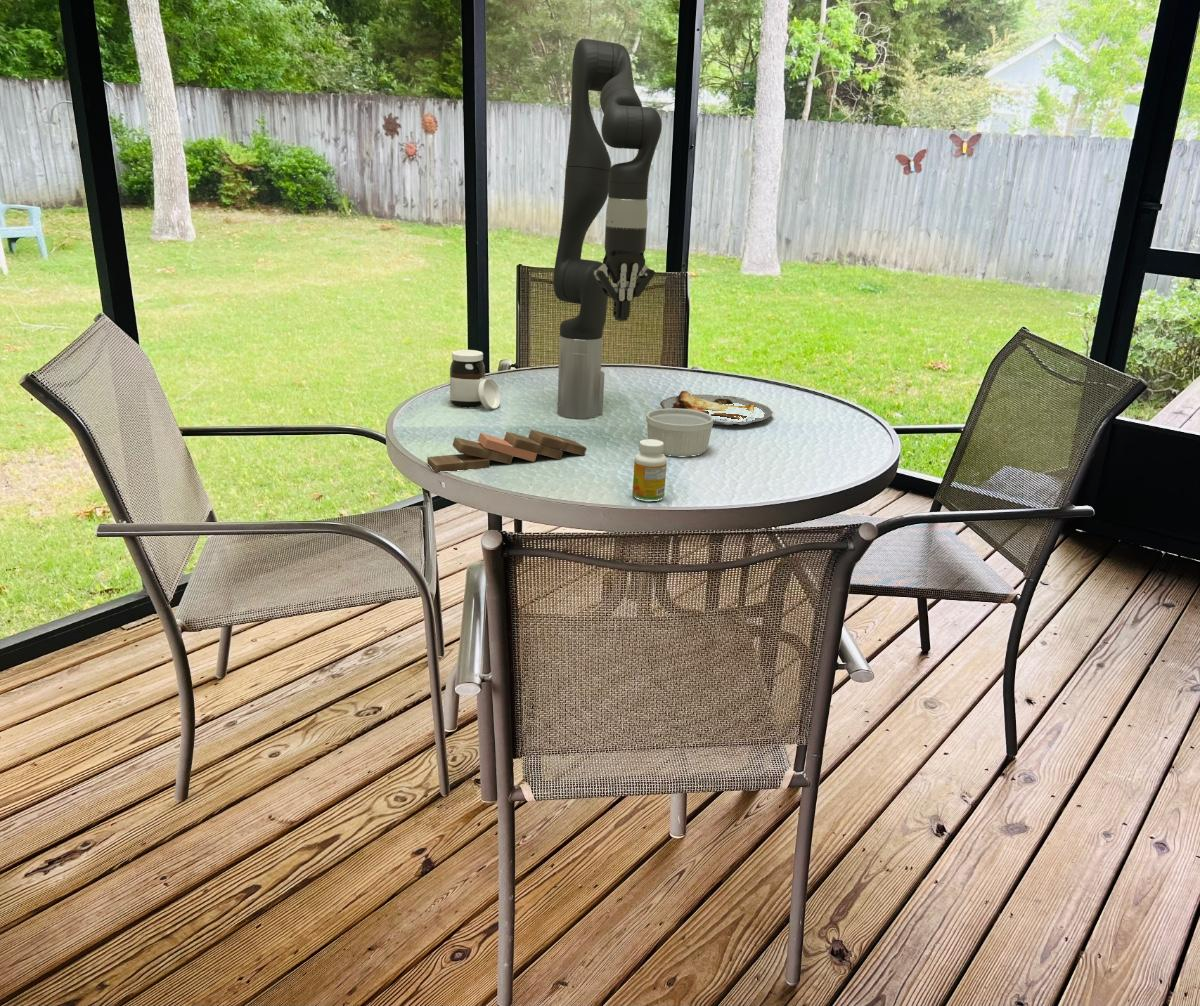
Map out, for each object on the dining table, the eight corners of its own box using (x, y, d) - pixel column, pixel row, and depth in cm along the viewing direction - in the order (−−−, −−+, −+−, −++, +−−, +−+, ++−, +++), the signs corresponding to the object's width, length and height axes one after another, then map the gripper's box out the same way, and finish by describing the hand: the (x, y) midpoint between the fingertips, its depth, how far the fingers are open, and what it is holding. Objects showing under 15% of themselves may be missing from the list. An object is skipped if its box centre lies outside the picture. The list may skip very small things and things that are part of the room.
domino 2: (505, 448, 178) (454, 437, 173) (513, 455, 173) (461, 444, 169) (502, 456, 178) (452, 445, 174) (510, 464, 174) (459, 452, 169)
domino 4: (552, 444, 182) (506, 431, 177) (563, 451, 178) (516, 438, 173) (549, 452, 182) (503, 439, 177) (560, 459, 178) (513, 447, 173)
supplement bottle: (630, 491, 163) (633, 437, 160) (661, 492, 163) (665, 438, 160) (634, 502, 158) (637, 446, 154) (666, 503, 158) (670, 447, 155)
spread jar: (452, 398, 218) (452, 347, 214) (502, 399, 219) (502, 349, 215) (447, 411, 207) (446, 358, 203) (499, 413, 208) (499, 360, 204)
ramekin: (633, 443, 191) (635, 409, 189) (691, 438, 196) (693, 405, 194) (662, 462, 180) (665, 427, 177) (723, 457, 185) (726, 422, 182)
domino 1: (479, 452, 175) (427, 456, 171) (489, 460, 171) (435, 465, 167) (479, 460, 176) (427, 465, 172) (489, 468, 172) (436, 473, 167)
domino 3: (528, 446, 180) (480, 432, 175) (537, 453, 175) (487, 439, 171) (526, 454, 180) (477, 440, 175) (534, 462, 175) (484, 447, 171)
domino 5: (574, 440, 185) (530, 429, 179) (586, 447, 181) (542, 436, 175) (571, 448, 185) (528, 437, 180) (584, 455, 181) (539, 444, 176)
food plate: (646, 418, 209) (647, 403, 208) (677, 398, 229) (679, 383, 228) (757, 438, 201) (759, 421, 200) (779, 414, 221) (782, 400, 220)
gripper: (605, 226, 166) (601, 325, 172) (667, 226, 173) (661, 322, 179) (584, 222, 172) (580, 318, 178) (645, 223, 179) (639, 315, 185)
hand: (621, 320), depth 178 cm, fingers closed
